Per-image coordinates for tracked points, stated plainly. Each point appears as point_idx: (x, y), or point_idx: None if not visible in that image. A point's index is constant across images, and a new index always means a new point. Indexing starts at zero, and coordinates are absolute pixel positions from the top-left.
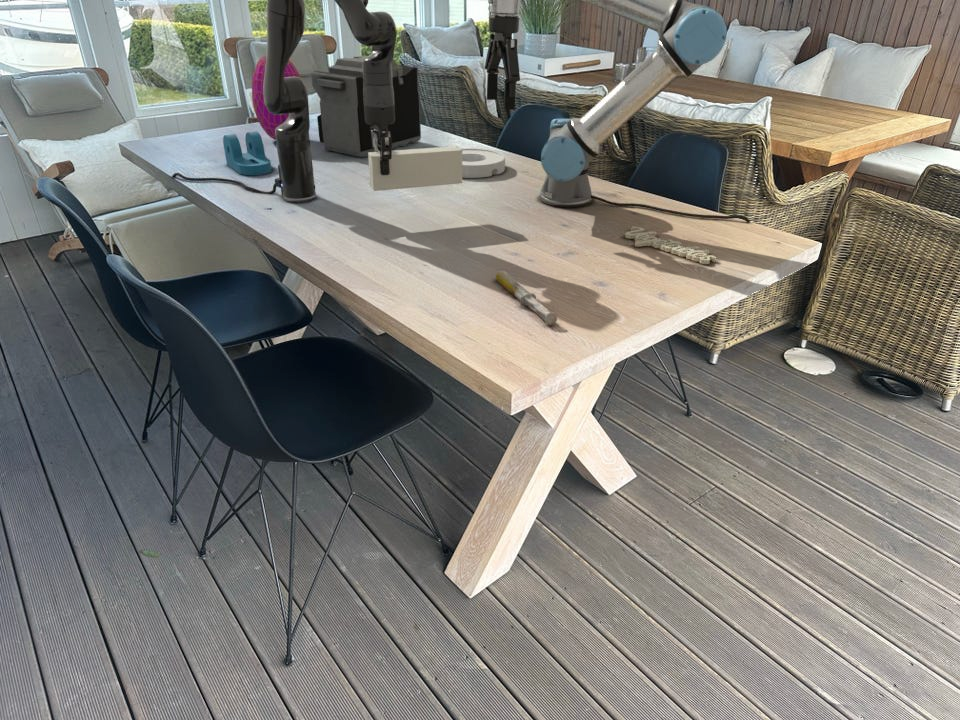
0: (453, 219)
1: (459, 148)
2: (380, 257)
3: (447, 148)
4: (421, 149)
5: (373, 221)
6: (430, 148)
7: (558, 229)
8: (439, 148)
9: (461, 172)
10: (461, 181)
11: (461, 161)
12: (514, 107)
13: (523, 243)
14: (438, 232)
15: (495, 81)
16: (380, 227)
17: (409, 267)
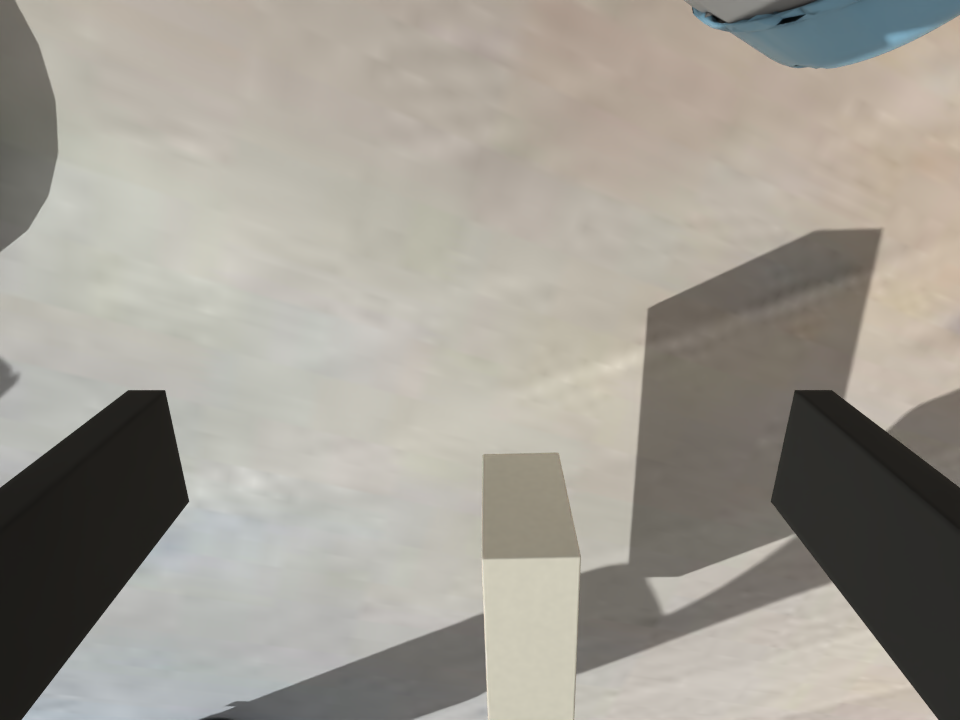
0: (550, 415)
1: (543, 562)
2: (774, 654)
3: (523, 614)
4: (506, 715)
5: None
6: (499, 680)
7: None
8: (510, 645)
9: (565, 485)
10: (559, 460)
11: (571, 519)
12: (845, 401)
13: (896, 260)
14: (657, 489)
15: (5, 576)
16: None
17: None
